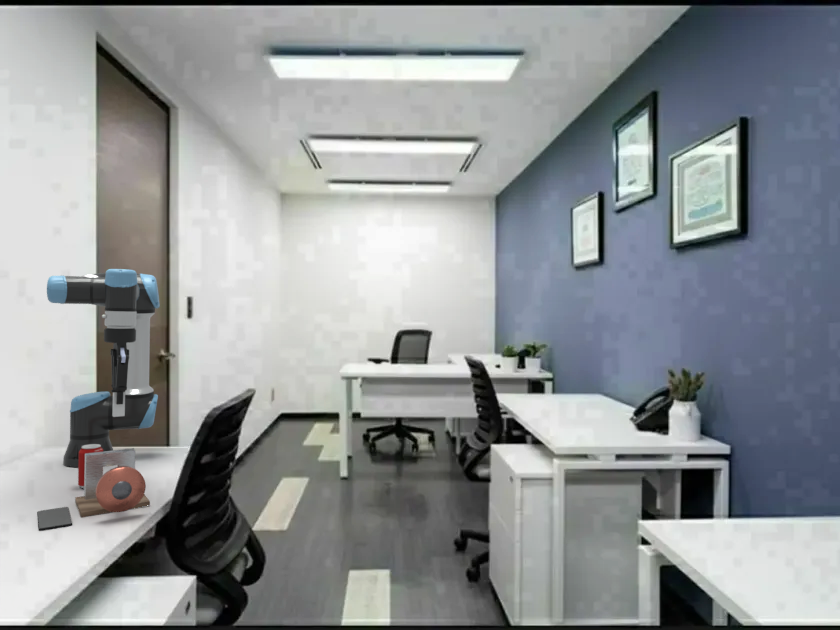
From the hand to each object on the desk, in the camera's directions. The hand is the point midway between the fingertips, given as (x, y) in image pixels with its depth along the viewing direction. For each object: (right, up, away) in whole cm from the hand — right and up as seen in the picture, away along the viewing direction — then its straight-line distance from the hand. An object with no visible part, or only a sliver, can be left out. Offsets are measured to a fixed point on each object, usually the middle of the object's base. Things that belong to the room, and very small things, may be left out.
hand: (118, 415), depth 153 cm
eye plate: (-6, -24, +6) cm, 26 cm away
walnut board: (-3, -24, +2) cm, 24 cm away
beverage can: (-17, -24, +17) cm, 34 cm away
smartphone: (-11, -25, -9) cm, 29 cm away
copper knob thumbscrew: (+1, -22, -3) cm, 22 cm away
